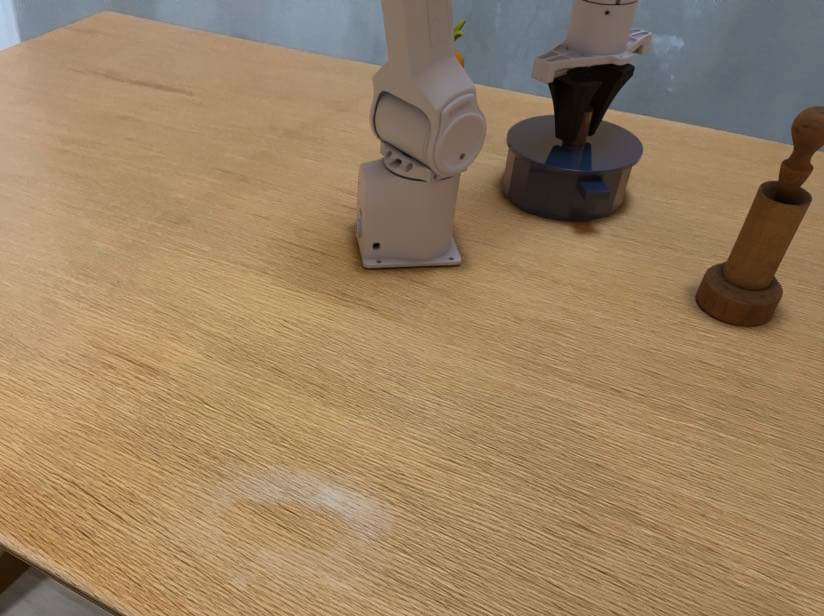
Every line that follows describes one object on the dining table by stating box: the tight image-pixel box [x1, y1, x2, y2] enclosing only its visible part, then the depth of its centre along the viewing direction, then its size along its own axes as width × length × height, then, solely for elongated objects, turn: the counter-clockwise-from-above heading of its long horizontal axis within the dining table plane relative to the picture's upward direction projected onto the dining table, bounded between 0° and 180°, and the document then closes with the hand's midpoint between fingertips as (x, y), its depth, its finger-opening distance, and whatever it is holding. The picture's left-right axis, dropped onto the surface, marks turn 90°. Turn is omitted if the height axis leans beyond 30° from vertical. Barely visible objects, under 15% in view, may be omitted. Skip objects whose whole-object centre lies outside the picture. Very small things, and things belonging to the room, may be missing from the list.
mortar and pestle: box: [696, 105, 824, 327], centre depth 68 cm, size 7×6×18 cm
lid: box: [505, 105, 644, 175], centre depth 85 cm, size 14×14×5 cm
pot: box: [501, 148, 633, 222], centre depth 88 cm, size 13×18×5 cm
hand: (574, 136), depth 86 cm, fingers closed on lid, 2 cm apart
